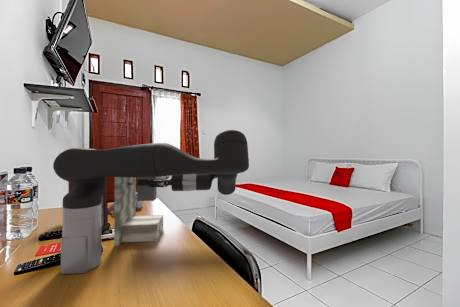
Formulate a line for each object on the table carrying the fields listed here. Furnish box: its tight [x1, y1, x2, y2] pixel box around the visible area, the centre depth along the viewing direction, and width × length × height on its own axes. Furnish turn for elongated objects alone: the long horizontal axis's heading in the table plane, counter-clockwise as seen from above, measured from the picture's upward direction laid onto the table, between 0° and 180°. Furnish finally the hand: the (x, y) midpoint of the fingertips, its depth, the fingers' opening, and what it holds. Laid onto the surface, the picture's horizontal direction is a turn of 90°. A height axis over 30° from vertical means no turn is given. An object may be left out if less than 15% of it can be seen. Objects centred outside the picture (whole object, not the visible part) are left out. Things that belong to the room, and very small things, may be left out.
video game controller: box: [108, 202, 115, 218], centre depth 115 cm, size 10×5×7 cm, turn 48°
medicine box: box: [136, 192, 144, 210], centre depth 127 cm, size 8×4×9 cm, turn 81°
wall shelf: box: [113, 177, 164, 247], centre depth 86 cm, size 18×14×24 cm
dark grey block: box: [136, 177, 157, 202], centre depth 86 cm, size 4×6×12 cm
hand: (139, 181), depth 86 cm, fingers closed on dark grey block, 4 cm apart
